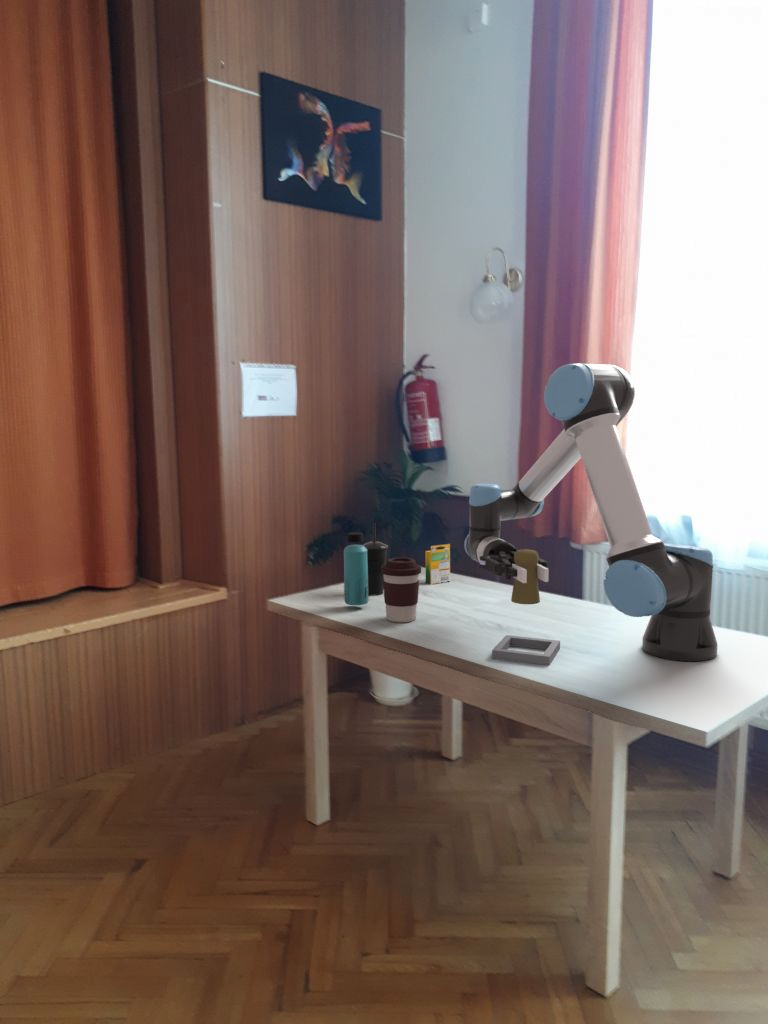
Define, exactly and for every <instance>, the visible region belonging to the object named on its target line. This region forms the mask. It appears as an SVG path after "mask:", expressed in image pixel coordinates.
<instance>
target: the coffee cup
mask: <svg viewBox="0 0 768 1024" xmlns="http://www.w3.org/2000/svg"><path fill="white" fill-rule="evenodd" d="M381 573H382V574H384V580H383V587H384V590H383V597H384V598H383V599H384V604H385V614H386V620H388V621H390V622H391V623H409V622H414V621H415V619H416V618H417V607H418V606H417V604H418V602H419V591H420V590H419V587H420V579H419V575H420V574H421V573H422V566H421V565H420V564H417V562H416V560H415V559H413V558H410V557H391V558H389V559H386V564H384V565H382V566H381Z"/></svg>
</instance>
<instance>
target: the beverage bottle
mask: <svg viewBox="0 0 768 1024" xmlns="http://www.w3.org/2000/svg"><path fill="white" fill-rule="evenodd" d="M363 536H364V535H363V533H362V532H348V533H347V540H346V541H347V542H348V543H349V542H350V543H360V542H363V541H364V537H363ZM363 545H364V544H349V545H347V546H346V547H344V549H343V598H344V603H345V604H346V605H349V606H364V605H367V604H368V603H369V598H370V595H369V587H368V578H369V577H368V564H367V549H366V548H365V547H364V546H363Z"/></svg>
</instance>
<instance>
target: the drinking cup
mask: <svg viewBox="0 0 768 1024" xmlns="http://www.w3.org/2000/svg"><path fill="white" fill-rule="evenodd" d="M376 525H377V524H376V523H374V522H373V523H372V537H373V538H372V539H373V540H371V541H369V542H366V543H363V544H362V545H363V546H364V547H365V548H366V549H367V564H368V577H369V578H368V587H369V596H380V595H384V587H383V580H384V574H382V573H381V566H382V565H384V564H386V562H387V555H388V553H387V552H388V548H389V545H388V544H386V543H383V542H381V541H378V540H377V541H376V539H377V538H376V537H377V535H376V534H377V532H376V529H377V528H376V527H377V526H376Z"/></svg>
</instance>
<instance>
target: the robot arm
mask: <svg viewBox="0 0 768 1024" xmlns="http://www.w3.org/2000/svg"><path fill="white" fill-rule="evenodd" d="M635 390H636V389H635V385H634V382H633V379H632V377H631V376H630V374H629V373H628V372H627V371H626V370H625V369H623V368H621V367H619V366H617V365H615V364H614V365H613V364H595V363H589V364H588V363H586V362H585V363H584V362H575V363H568V364H563V365H561V366H559V367H558V368H557V369H555V370H554V371H553V372H552V374H550V376H549V378H548V380H547V384H546V385H545V388H544V392H543V393H544V395H543V401H544V405H545V409H546V410H547V412H548V413H549V415H550V416H551V417H553V418H554V419H556V420H558V421H561V423H562V427H563V430H562V431H561V432H560V433H559V434H558V435H557V436H556V438H555V439H554V440H553V441H552V442H551V444H550V445H549V446H548V447H547V448H546V449H545V451H544V452H543V453H542V454H541V455H540V456H539V458H537V460H536V461H535V463H533V465H532V466H531V467H530V469H528V471H526V473H525V474H524V475H523V476H522V477H521V479H520V480H518V482H517V483H516V484H515V485H514V486H513V488H511V489H510V488H509V489H502V488H501V487H502V486H500V485H499V484H496V483H474V484H473V485H471V487H470V490H469V498H468V499H469V500H468V504H469V509H468V510H469V523H468V524H469V529H468V534H467V536H466V537H465V539H464V545H463V546H464V547H463V548H464V550H465V553H466V554H467V555H468V556H469V558H470V559H471V560H473V561H474V562H476V563H479V568H481V569H484V570H486V571H489V572H491V573H492V574H494V575H496V576H498V577H500V576H503V575H505V580H512V578H513V579H514V578H515V579H517V580H519V581H520V582H522V583H527V570H526V569H524V568H522V567H520V566H518V565H516V563H515V562H514V554H515V552H516V551H518V550H517V549H516V547H515V546H514V545H513V544H512V543H510V542H508V541H506V540H504V539H502V538H501V522H502V521H510V520H517V519H528V518H531V517H535V516H538V515H539V514H540V513H541V512H542V511H543V507H544V504H545V498H546V497H547V496H548V495H549V494H550V493H551V491H553V489H554V488H556V486H557V485H558V484H559V483H560V481H561V480H563V478H564V477H565V476H566V475H567V474H568V473H569V472H570V471H571V469H572V468H573V467H574V466H575V465H576V464H577V463H578V462H579V461H580V460H581V461H582V464H583V466H584V467H583V468H584V470H585V473H586V476H587V479H588V482H589V485H590V487H591V491H592V495H593V497H594V500H595V503H596V506H597V509H598V513H599V516H600V518H601V522H602V525H603V528H604V531H605V534H606V538H607V541H608V544H609V551H608V552H607V554H606V557H605V558H606V559H605V560H606V563H607V565H608V567H607V569H606V572H605V577H604V578H603V589H604V592H605V596H606V597H607V599H608V601H609V603H610V604H611V605H612V607H614V608H615V609H616V610H617V611H619V612H620V613H622V614H624V615H626V616H628V617H631V618H632V617H633V618H643V617H650V618H649V621H648V624H647V625H646V629H645V631H644V633H643V636H642V644H641V645H642V646H641V647H642V650H643V651H644V652H646V653H648V654H650V655H652V656H655V657H658V658H662V659H668V660H671V661H672V660H673V661H683V662H701V661H709V660H712V659H714V658H716V657H717V655H718V642H717V637H716V634H715V631H714V628H713V624H712V621H711V606H712V586H713V585H712V584H713V573H714V572H713V571H714V564H713V557H714V556H713V552H712V551H711V550H710V549H709V548H705V547H701V546H694V545H688V544H687V545H686V544H678V543H668V542H667V543H666V542H664V541H663V540H661V539H660V538H658V537H656V536H655V535H653V533H652V529H651V526H650V524H649V521H648V520H649V519H648V518H647V514H646V513H645V509H644V506H643V502H642V500H641V497H640V494H639V491H638V488H637V485H636V482H635V480H634V476H633V473H632V470H631V468H630V467H631V466H630V464H629V461H628V458H627V455H626V452H625V450H624V446H623V444H622V440H621V437H620V435H619V432H618V429H617V426H619V424H620V423H621V422H622V421H623V419H624V418H625V417H626V415H628V413H629V411H630V409H631V407H632V405H633V402H634V398H635V395H636V394H635V392H636V391H635ZM536 570H537V579H538V580H540V581H542V582H544V583H549V578H550V577H549V575H550V574H549V573H550V571H549V570H550V569H549V568H548V561H546V560H545V559H542V558H540V557H539V561H538V564H537V565H536Z"/></svg>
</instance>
